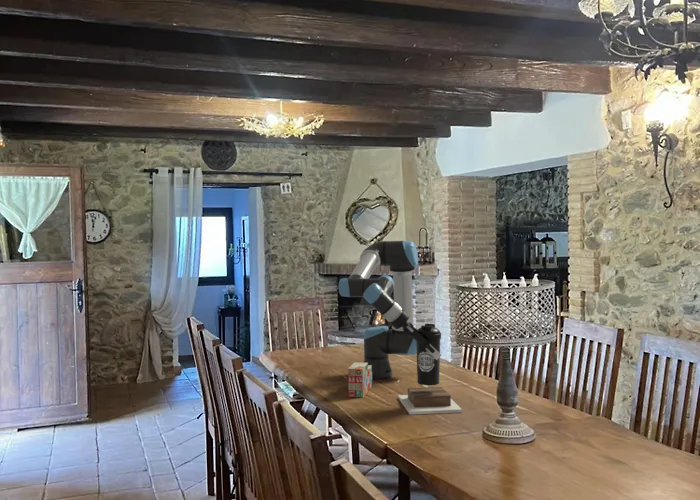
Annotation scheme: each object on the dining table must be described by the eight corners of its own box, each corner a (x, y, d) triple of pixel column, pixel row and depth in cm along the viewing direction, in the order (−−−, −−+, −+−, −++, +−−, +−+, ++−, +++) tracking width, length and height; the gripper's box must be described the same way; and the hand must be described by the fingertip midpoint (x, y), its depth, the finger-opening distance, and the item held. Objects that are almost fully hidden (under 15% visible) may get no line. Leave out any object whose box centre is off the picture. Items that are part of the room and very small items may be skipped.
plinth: (407, 398, 256) (407, 388, 256) (441, 396, 258) (441, 387, 258) (414, 407, 242) (414, 397, 242) (450, 406, 244) (450, 395, 244)
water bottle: (412, 384, 247) (412, 325, 246) (418, 379, 256) (418, 322, 256) (438, 386, 243) (438, 327, 243) (443, 380, 253) (443, 323, 252)
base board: (398, 398, 261) (398, 395, 261) (445, 396, 263) (445, 393, 263) (409, 414, 237) (409, 411, 237) (461, 412, 239) (461, 409, 239)
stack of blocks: (358, 385, 285) (358, 357, 284) (372, 385, 283) (372, 358, 283) (348, 397, 264) (347, 367, 263) (362, 398, 262) (362, 368, 262)
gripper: (385, 319, 259) (423, 356, 261) (394, 326, 237) (436, 367, 239) (397, 305, 259) (436, 343, 261) (408, 312, 237) (449, 353, 239)
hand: (436, 355), depth 250 cm, fingers closed on water bottle, 9 cm apart
